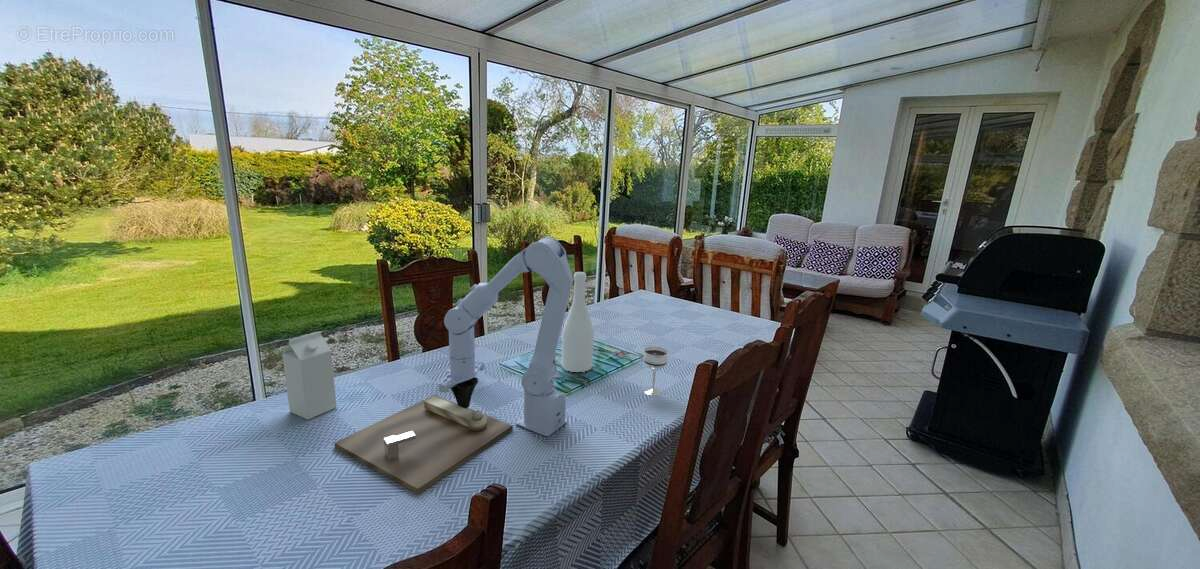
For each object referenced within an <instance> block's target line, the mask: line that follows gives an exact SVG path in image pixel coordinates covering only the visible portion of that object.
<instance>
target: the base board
mask: <svg viewBox="0 0 1200 569" xmlns="http://www.w3.org/2000/svg"><path fill="white" fill-rule="evenodd" d="M434 396H435V397H437V398H440V399H443V400H445V401H448V402H450V403H453V404H455V405H458V404H457V402H455V401H452V400H449V399H447V398H444V397H441V396H439V395H436V394H434V395H431V396H430V397H427V398H425V399H423V400H421V401H418V402H416V403H415V404H413V405H410V406H408V407H406V408H404V409H402V410H400V411H398V412H396V413H393V414H391V415H390V416H387V417H386V418H383V419H381V420H379V421H377V422H375V423H373V424H371V425H369V426H366V427H364V428H362V429H360V430H359V431H356V432H354V433H352V434H350V435H348V436H346V437H343V438H341V439H339V440H337V441H335V442H334V449H336V450H338V451H340V452H342V453H343V454H345V455H347V456H349V457H351V458H353V459H354V460H356V461H357V462H360V463H361V464H363V465H364V466H366V467H369V468H371V469H372V470H374V471H376V472H377V473H379V474H381V475H383V476H384V477H386V478H388V479H389V480H392V481H394V482H395V483H397V484H399V485H400V486H402V487H404V488H406V489H408V490H410V491H411V492H413V493H415V494H417V495H420V494H422V493H423V492H424V491H425V490H427V489H429V488H431V487H432V486H433V485H434V484H436V483H438V482H439V481H440V480H442V479H443V478H445V477H447V476H448V475H449V474H451V473H452V472H453V471H455V470H456V469H458V468H459V467H461V466H462V465H464V464H465V463H467V462H469V461H470V460H471V459H472V458H474V457H475V456H477V455H478V454H480V453H481V452H483V451H484V450H485V449H486V450H487V448H489V447H491V445H494V444H495V443H496V442H497V441H499V440H501V439H502V438H503V437H505V436H507V434H509V433H511V432H512V431H513V430H514V428H513V427H514V426H513V424H510V423H507V422H505V421H502V420H499V419H497V418H495V417H492V416H489V415H487V414H485V413H483V414H484V415H486V417H487V426H486V428H485V429H483V430H480V431H473V430H470V429H469V427H467V426H465V425H462V424H460V423H457V422H455V421H453V420H450V419H448V418H446V417H443V416H441V415H438V414H436V413H434V412H431V411H429V410H427V409H424V401H425V400H427V399H429V398H431V397H434ZM467 409H468V410H470V411H473V412H475V411H476V410H475V409H472V408H469V407H468V408H467ZM410 431H413V432H414V434H415V435H416V439H413V440H410V441H407V442H404V443H401V444H398V450H399V457H398V458H395V459H392V460H389V461H388V459H387V458H386V456H385V449H384V438H386V437H389V436H392V435H395V436H397V435H400V434H404V433H407V432H410Z"/></svg>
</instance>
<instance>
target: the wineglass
mask: <svg viewBox="0 0 1200 569" xmlns="http://www.w3.org/2000/svg"><path fill="white" fill-rule="evenodd" d="M643 351H644V354H643V356H642V359H643V360H642V361H643V363H644V365H645V366H646V367H647V368H648V369H651V371H652V387H646V388H645V389H643V392H644V394H646V395H648V396H660V395H661V394H662V393H663V392H662V390H661V389H660V388H657V387H655V381H656V372H657V371H658V370H661V369H663V368H665V366H666V365H667V363H668V360H669V358H668V355H669V351H668V350H667V349H665V348H663V347H659V346H649V347H646V348H644V349H643Z"/></svg>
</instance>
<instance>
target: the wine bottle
mask: <svg viewBox="0 0 1200 569" xmlns="http://www.w3.org/2000/svg"><path fill="white" fill-rule="evenodd" d="M586 281H587V274H586V272H584V271H576V272H574V273H573V283H574V284H573V300H572V303H571V306H570V309H569V311H568V315H567V317H566V320H565V322H564V324H563V326H562V330H561V331H562V334H561V367H562V369H563V370H565V371H566V372H568V371H570V372H569V373H571V372H583V373H586V372H585V371H587V372H589V371H590V370H591V369H592V367H593V361H594V358H593V357H594V355H593V354H594V336H595V335H594V334H595V332H594V327H593V323H592V321H591V320H592V319H591V318H590V314H589V310H588V307H587V303H586ZM588 370H589V371H588Z"/></svg>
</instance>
